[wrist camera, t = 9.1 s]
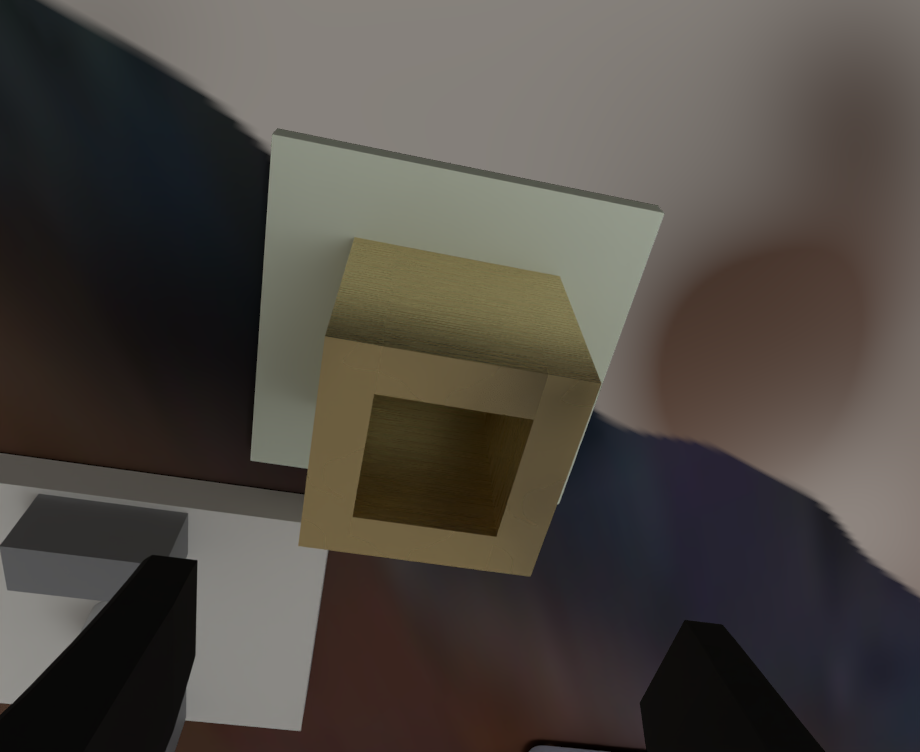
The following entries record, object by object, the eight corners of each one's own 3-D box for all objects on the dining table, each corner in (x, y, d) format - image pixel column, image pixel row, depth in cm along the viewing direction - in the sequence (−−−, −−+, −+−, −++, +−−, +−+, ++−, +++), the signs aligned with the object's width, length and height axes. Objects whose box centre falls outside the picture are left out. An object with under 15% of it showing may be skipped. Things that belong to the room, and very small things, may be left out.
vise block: (336, 499, 21) (305, 661, 16) (305, 700, 26) (275, 871, 21) (-92, 440, 20) (-268, 600, 15) (-37, 666, 24) (-156, 842, 20)
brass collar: (559, 276, 17) (601, 383, 13) (509, 440, 19) (530, 576, 15) (354, 236, 16) (324, 336, 12) (330, 411, 19) (298, 546, 14)
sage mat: (657, 205, 17) (664, 213, 16) (555, 491, 21) (558, 504, 21) (277, 128, 16) (271, 134, 15) (255, 447, 20) (250, 460, 19)
